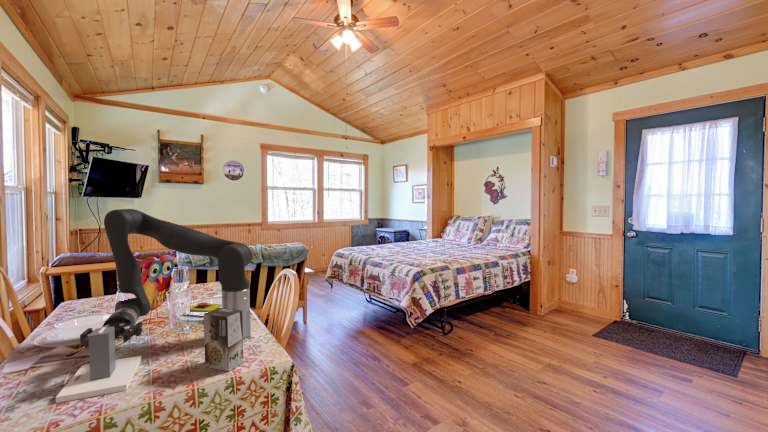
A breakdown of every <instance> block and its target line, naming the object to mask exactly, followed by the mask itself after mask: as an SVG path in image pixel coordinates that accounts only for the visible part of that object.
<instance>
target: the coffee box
mask: <svg viewBox="0 0 768 432" xmlns="http://www.w3.org/2000/svg"><path fill="white" fill-rule="evenodd" d="M203 337H204V342H203V343H204V367H205V368H209V369H215V370H219V371H225V372H230V371H232V370H233V368H234V369H235V368H237V367H239V366H240V365H242V364H243V363H244V338H243V317H242V310H235V309H227V308H217V309H214V310H212V311H210V312H208V313H205V314H204V317H203ZM241 363H242V364H241ZM238 365H239V366H238Z"/></svg>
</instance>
